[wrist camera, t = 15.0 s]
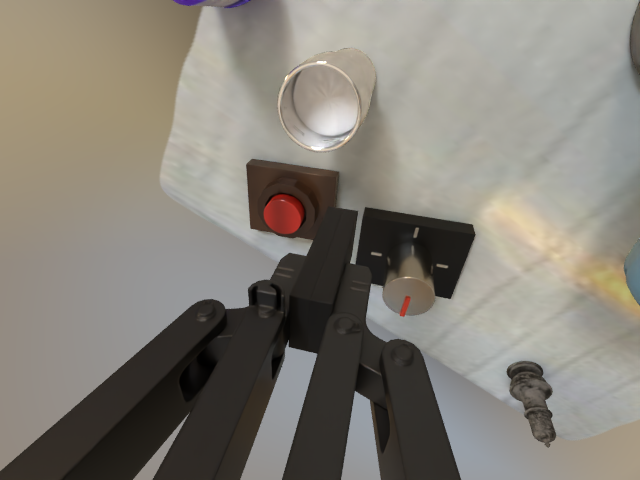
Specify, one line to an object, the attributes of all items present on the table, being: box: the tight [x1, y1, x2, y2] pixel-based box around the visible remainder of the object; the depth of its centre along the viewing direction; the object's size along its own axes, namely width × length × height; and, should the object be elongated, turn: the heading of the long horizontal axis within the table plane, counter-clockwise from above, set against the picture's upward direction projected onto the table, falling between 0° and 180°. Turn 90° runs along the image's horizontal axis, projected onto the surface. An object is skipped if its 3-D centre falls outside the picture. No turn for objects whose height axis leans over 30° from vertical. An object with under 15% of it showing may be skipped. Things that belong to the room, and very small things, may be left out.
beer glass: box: [277, 48, 376, 152], centre depth 31 cm, size 7×7×15 cm
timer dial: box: [383, 241, 435, 317], centre depth 43 cm, size 6×6×8 cm
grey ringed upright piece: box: [507, 361, 556, 447], centre depth 51 cm, size 6×6×12 cm
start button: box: [264, 194, 305, 234], centre depth 44 cm, size 5×5×2 cm
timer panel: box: [356, 207, 475, 299], centre depth 47 cm, size 14×11×3 cm
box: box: [246, 159, 339, 240], centre depth 46 cm, size 12×10×4 cm
